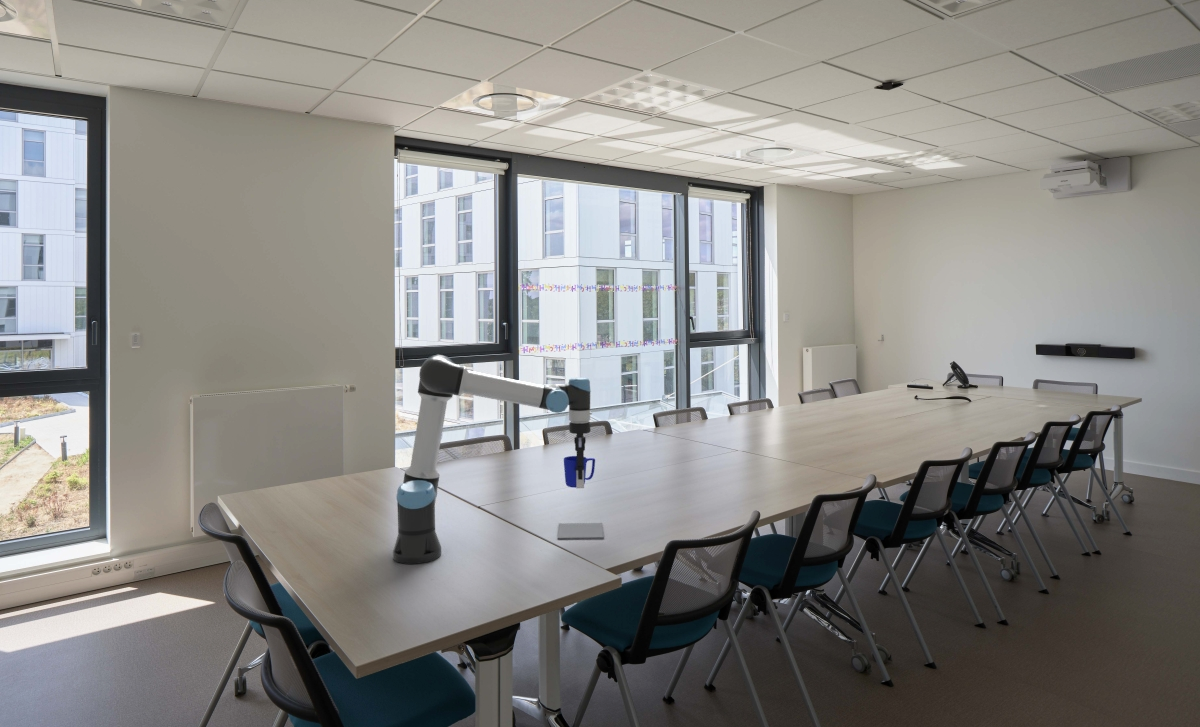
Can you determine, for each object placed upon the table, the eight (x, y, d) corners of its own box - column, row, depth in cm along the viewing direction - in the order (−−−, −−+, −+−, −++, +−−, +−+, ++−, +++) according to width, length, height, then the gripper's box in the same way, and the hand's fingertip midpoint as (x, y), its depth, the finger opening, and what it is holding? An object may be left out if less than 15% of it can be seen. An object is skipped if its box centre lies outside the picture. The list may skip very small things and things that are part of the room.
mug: (600, 485, 249) (600, 457, 249) (570, 490, 243) (570, 461, 242) (588, 480, 256) (588, 453, 256) (559, 485, 250) (559, 457, 249)
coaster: (557, 539, 242) (557, 537, 242) (558, 525, 258) (558, 523, 258) (603, 538, 243) (603, 537, 243) (601, 524, 259) (601, 522, 259)
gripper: (591, 426, 237) (591, 492, 239) (589, 416, 257) (590, 478, 259) (568, 426, 237) (569, 492, 239) (569, 417, 257) (569, 478, 259)
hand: (580, 485), depth 249 cm, fingers closed on mug, 7 cm apart
